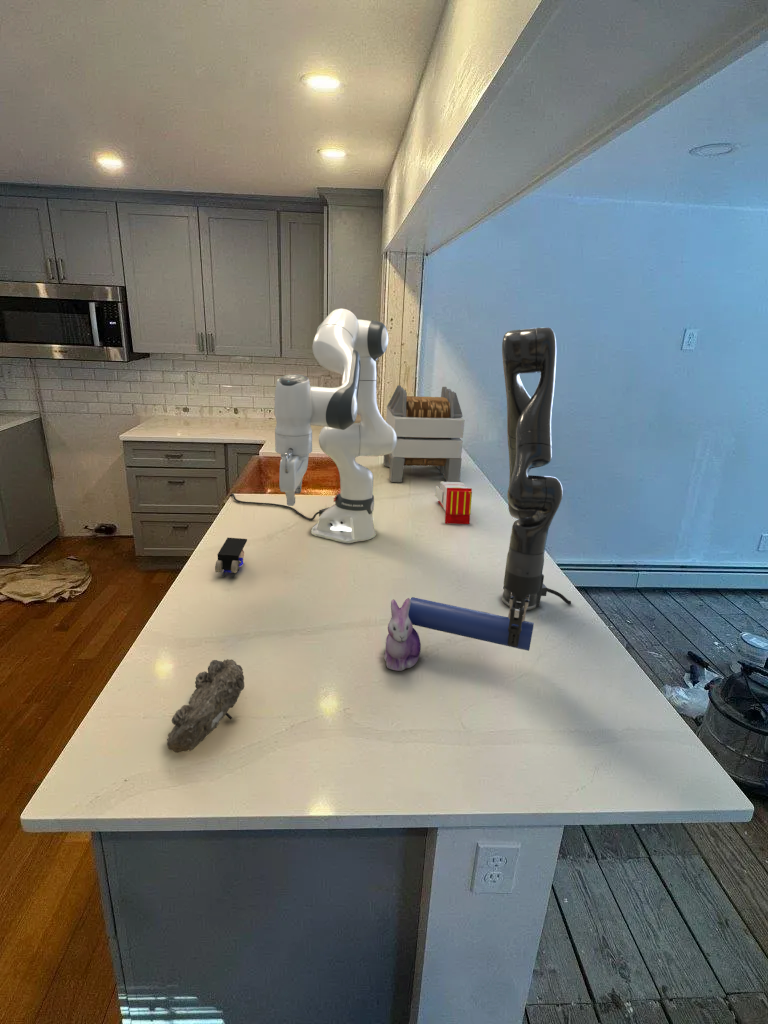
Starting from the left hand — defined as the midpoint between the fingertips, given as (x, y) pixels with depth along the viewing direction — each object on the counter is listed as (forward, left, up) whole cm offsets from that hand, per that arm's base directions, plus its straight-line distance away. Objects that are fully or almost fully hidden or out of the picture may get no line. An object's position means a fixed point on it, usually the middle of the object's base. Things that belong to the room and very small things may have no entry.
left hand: (294, 498), depth 141 cm
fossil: (+4, -46, -29) cm, 55 cm away
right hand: (+57, -11, -21) cm, 62 cm away
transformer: (+3, +137, -29) cm, 140 cm away
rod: (+47, -11, -23) cm, 53 cm away
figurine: (+33, -16, -29) cm, 47 cm away
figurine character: (-25, +11, -29) cm, 40 cm away
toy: (+27, +88, -29) cm, 96 cm away
